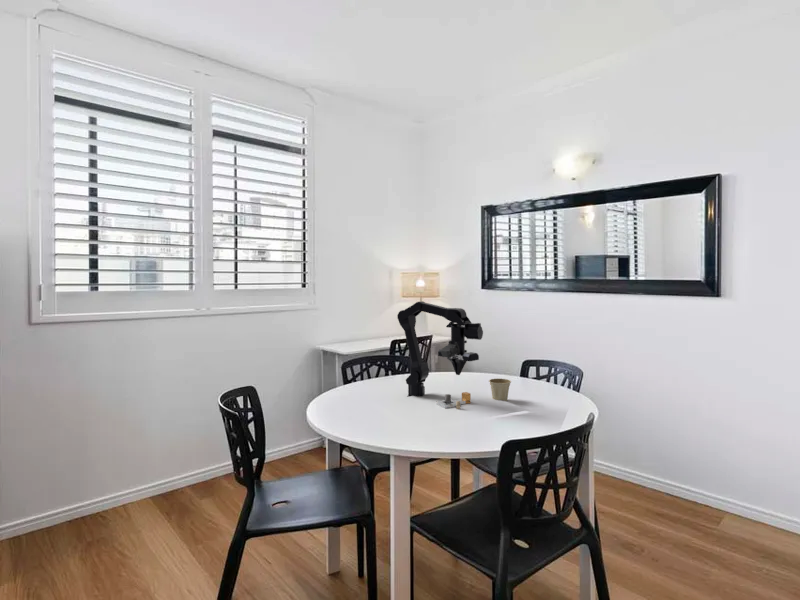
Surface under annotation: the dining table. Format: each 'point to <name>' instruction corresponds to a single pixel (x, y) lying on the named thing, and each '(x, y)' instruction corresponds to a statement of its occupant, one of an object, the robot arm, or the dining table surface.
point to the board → (448, 400)
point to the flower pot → (500, 388)
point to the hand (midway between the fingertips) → (457, 374)
